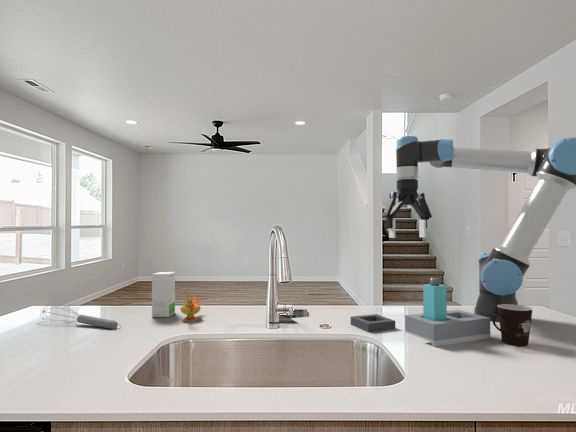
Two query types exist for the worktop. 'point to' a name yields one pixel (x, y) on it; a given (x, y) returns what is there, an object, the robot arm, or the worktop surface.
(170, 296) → the skincare box
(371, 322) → the frame
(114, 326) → the kitchen whisk
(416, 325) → the block
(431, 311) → the plug
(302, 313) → the handgun
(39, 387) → the worktop surface
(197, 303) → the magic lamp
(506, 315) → the coffee mug
